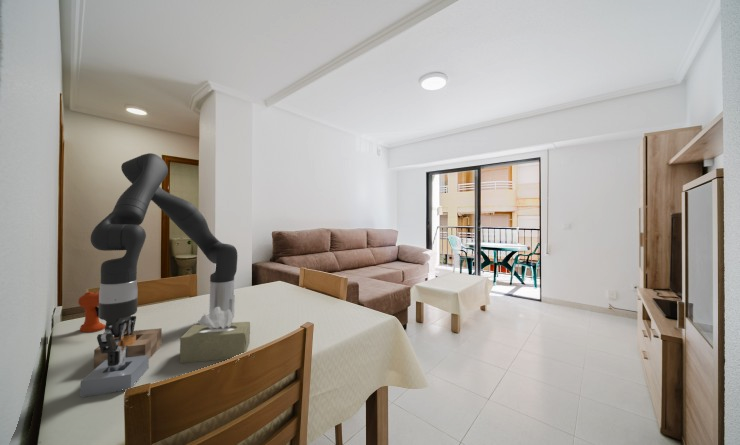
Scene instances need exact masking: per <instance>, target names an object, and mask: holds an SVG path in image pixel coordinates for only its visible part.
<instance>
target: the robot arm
mask: <svg viewBox="0 0 740 445" xmlns="http://www.w3.org/2000/svg"><path fill="white" fill-rule="evenodd" d="M121 172H122V174H123V176H125V178H126V179H127V180H128V181H129V182H130V183H131V184H130V186H129V187H127V188H126V189H125V191H124V192H123V193H122V194H121V195H120V196H119V198H118V199H117V201H116V203H115V205H114V207H113V210H112V211H111V212H110V213H109V214H108V215H107V216H105V217H104V218H103V219H102V220H101V221H100V222H98V223H97V225H96V226H95V227H94V228H93V230H92V231H91V234H90V243H91V245H92V246H93V247H94V248H95V249H96V250H99V251H107V252H108V251H110V252H111V251H125V253H124V256H122V257H118V258H112V259H108V260H105V261H103V262H102V263H101V265H100V287H99V291H98V293H99V306H98V308H99V320H103V321H104V322H105V324H104V325H105V329H104V332H103V333H100V334H97V337H96V340H97V343H98V347H100V350H101V353H102V354H103V353H108V366H115V365H118V364H119V363H120V343H121V341H122V340H123V338H124V336H127V335H133V331H135V324H136V321H137V316H136V313H137V312H138V292H139V291H138V284H137V283H138V280H137V278H138V277H137V276H138V275H137V269H138V266H137V265H138V261H139V257H140V254H141V251H142V249H143V246H144V244H145V242H146V238H147V234H146V230H145V229H144V227H143V226H141V225H142V224H143V221H144V219H145V217H146V214H147V211H148V208H149V205H150V203H151V202H153V203H154V204H155V205H156V206H157V207H158V208H159V209H160V210H161V211H163V213H164V214H165V215H166V216H167V217H168V218H169V219H170V220H171V221H172V223H174V224H175V226H177V227H178V229H180V230H181V231H182V232H183V233H184V234H185V236H187V237H188V238H189V239H190V240H191V241H192V242H194V243H195V244H196V246H197V247H199V250H201V252H202V253H203V254H204V255H205V258H206V259H207V260H208V261H209V262H210V263H212V264H215V271H214V272H213V273H211V274H210V277H209V278H210V279H209V306H208V307H209V309H208V310H209V311H208V312H209V314H211V312H212V310H213V309H214V308H215V307H220V309H221V310H222V311H226V310H228V309H229V310H230V311H231V312H232V313H233V314H234V315H233V318H234V317H235V302H236V301H235V299H236V298H235V275H236V273H237V269H238V250H237V248H236V247H235V246H234V245H233V244H229V243H224V242H221V241H220V240H219V239H218V238H216V236H215V235H214V234H213V233H212V232H211V230H210V229H209V225H208V223H207V219H206V218H205V216H204V215H203V214H202V213H201V212H200V211H199V209H198V208H197V207H196V206H195V205H194V204H193V203H191V202H190V201H188V200H185V199H183V198H181V197H179V196H176V195H174V194H172V193H169V192H168V191H166V190H164V189H163V188H161V185H162V183H163V182H164V180H165V179H166V178H167V176H168V173H169V169H168V165H167V163H166V162H165V160H164V159H163V158H162V157H161V156H159V155H158V154H155V153H153V152H152V153H145V154H141V155H139V156H137V157H135V158H134V157H133V158H132V159H129V160H127V161H125V162H123V163H121ZM209 314H208V315H209ZM116 337H119V338H117V339H114V338H116ZM115 343H116V346H115ZM127 350H128V346H126V356H127ZM126 356H125V357H126Z"/></svg>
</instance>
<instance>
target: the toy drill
mask: <svg viewBox="0 0 740 445" xmlns="http://www.w3.org/2000/svg"><path fill="white" fill-rule="evenodd" d="M77 303H78V305H79V306H80V307H81V308H83V309H84V315H85V317H84V322H83V324H81V325H80V327H79V332H83V333H94V332H95V333H96V332H99V331H103V330H105V325H106V324H104V323H102V322H100V318H99V292H92V291H87V292H86V293H84V294H83V295H81V296H80V297H79V299H78V302H77Z"/></svg>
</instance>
